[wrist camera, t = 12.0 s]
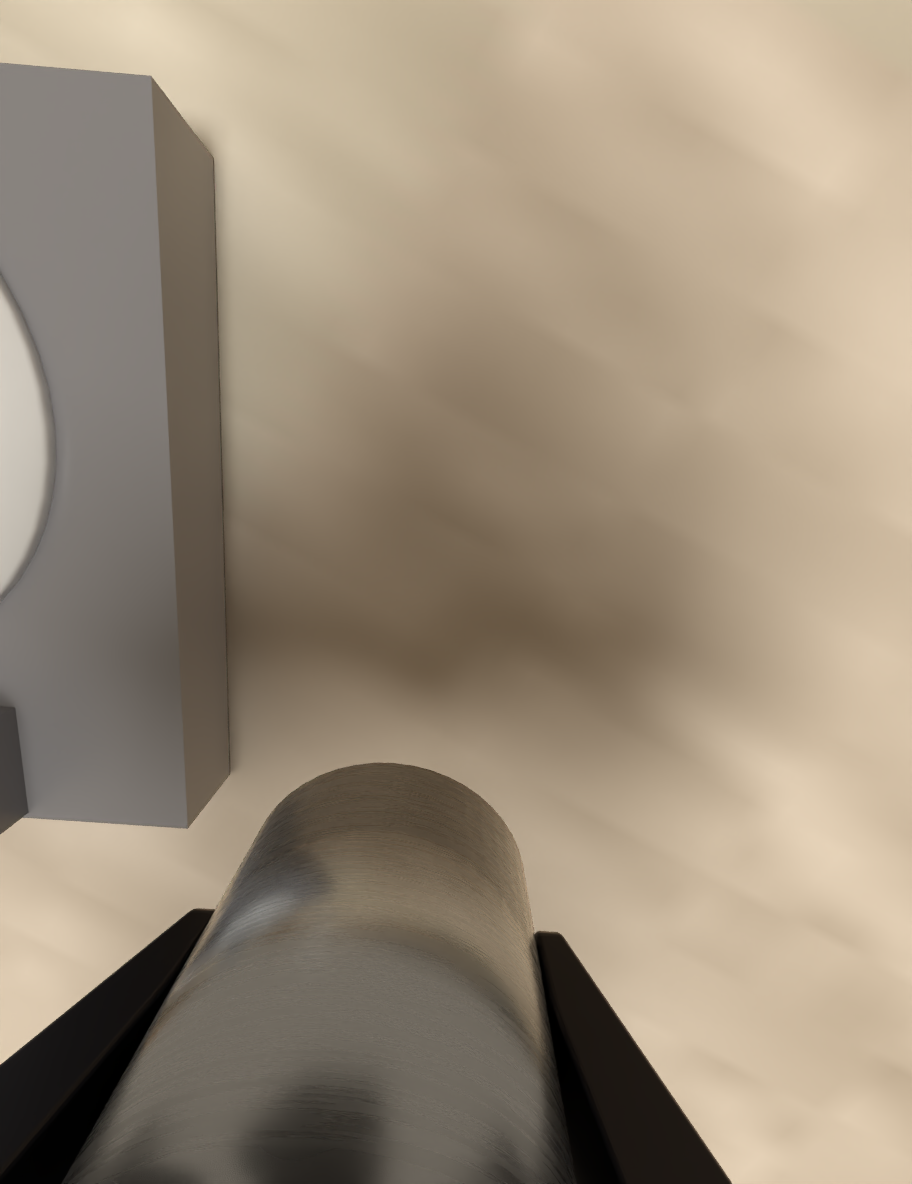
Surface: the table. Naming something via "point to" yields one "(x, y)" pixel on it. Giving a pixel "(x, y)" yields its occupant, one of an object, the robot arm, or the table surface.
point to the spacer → (352, 1008)
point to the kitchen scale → (108, 456)
